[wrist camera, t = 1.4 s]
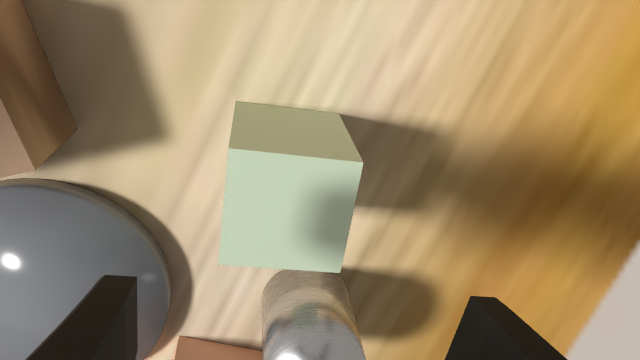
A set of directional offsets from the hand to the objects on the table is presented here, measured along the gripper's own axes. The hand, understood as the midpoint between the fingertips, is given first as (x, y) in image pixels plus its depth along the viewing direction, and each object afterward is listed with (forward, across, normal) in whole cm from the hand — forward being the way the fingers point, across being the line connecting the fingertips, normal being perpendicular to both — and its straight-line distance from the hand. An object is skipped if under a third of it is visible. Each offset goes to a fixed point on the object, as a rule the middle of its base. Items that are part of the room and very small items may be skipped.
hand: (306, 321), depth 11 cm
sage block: (+10, 0, +1) cm, 10 cm away
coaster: (+9, +9, +8) cm, 15 cm away
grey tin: (+9, -2, +8) cm, 12 cm away
